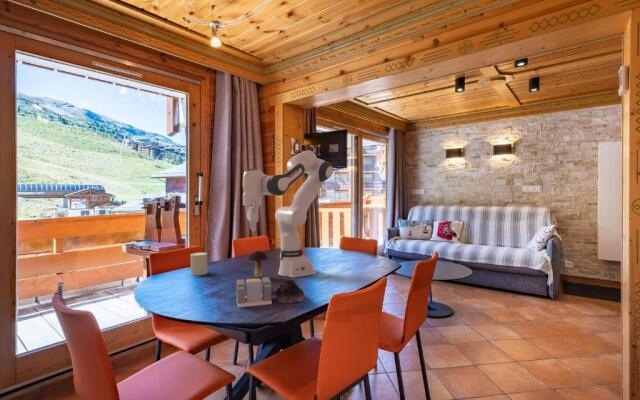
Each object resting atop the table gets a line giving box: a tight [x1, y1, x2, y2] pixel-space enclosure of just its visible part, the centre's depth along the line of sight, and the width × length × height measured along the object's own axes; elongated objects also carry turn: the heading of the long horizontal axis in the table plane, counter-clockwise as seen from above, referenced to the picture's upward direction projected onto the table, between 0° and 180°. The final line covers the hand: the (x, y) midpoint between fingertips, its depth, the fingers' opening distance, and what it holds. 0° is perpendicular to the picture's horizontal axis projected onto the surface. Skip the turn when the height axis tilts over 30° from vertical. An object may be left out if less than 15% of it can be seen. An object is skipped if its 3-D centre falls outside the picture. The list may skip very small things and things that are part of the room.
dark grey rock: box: [275, 279, 305, 304], centre depth 142 cm, size 14×14×10 cm
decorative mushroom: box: [247, 250, 269, 279], centre depth 178 cm, size 11×11×15 cm
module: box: [245, 277, 262, 301], centre depth 139 cm, size 6×5×8 cm
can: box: [190, 252, 208, 276], centre depth 187 cm, size 9×9×12 cm
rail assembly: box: [235, 276, 273, 308], centre depth 139 cm, size 14×11×9 cm
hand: (252, 230), depth 156 cm, fingers open, 8 cm apart
